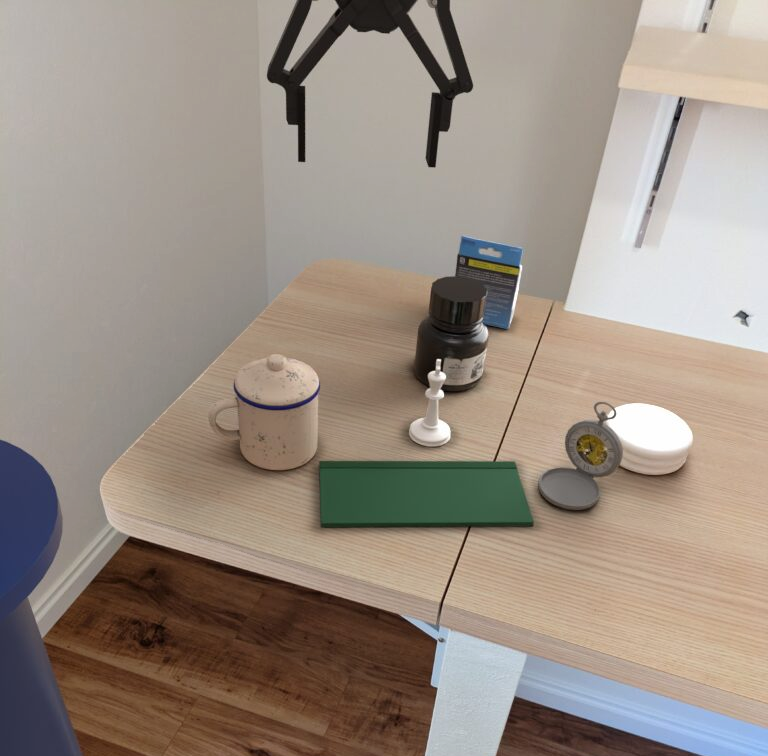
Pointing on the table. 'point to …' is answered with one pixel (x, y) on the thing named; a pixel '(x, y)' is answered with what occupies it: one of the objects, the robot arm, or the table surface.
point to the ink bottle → (453, 333)
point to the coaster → (650, 438)
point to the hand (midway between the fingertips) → (366, 160)
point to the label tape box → (492, 276)
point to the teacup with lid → (274, 412)
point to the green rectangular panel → (422, 494)
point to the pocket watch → (583, 464)
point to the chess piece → (431, 415)
